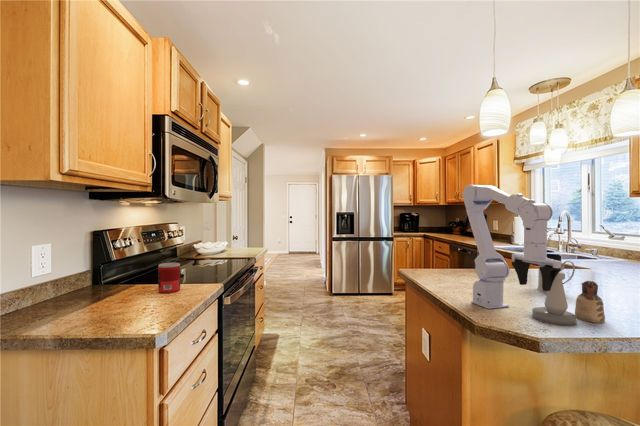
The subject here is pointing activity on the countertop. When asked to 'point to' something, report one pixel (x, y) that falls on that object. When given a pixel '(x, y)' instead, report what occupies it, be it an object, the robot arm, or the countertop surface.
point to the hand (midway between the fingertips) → (534, 287)
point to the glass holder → (558, 257)
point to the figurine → (589, 304)
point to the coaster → (553, 317)
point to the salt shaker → (556, 296)
